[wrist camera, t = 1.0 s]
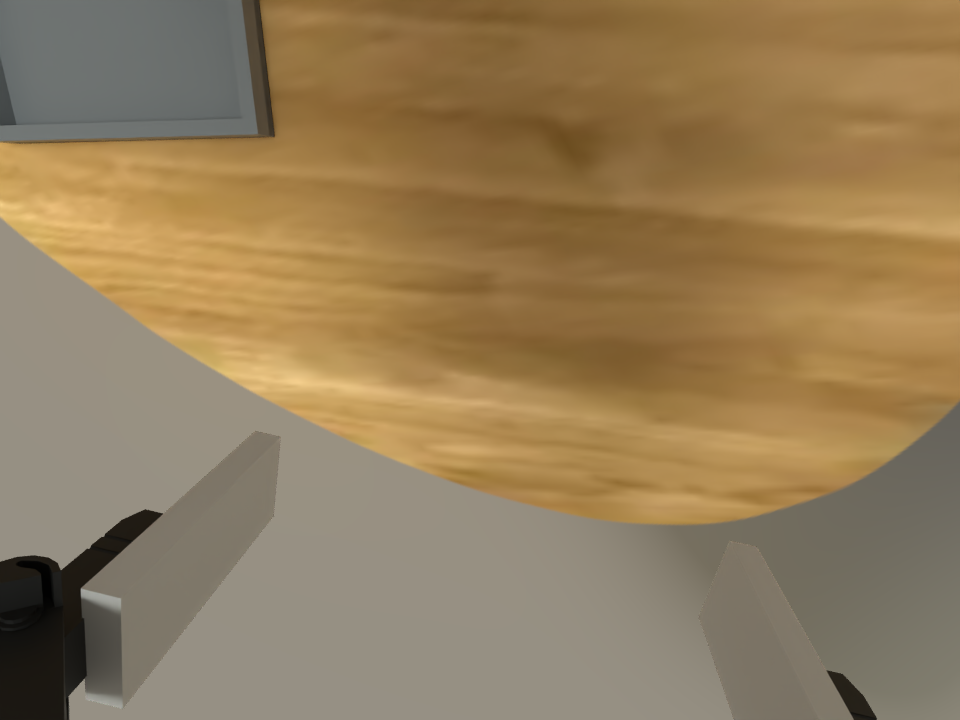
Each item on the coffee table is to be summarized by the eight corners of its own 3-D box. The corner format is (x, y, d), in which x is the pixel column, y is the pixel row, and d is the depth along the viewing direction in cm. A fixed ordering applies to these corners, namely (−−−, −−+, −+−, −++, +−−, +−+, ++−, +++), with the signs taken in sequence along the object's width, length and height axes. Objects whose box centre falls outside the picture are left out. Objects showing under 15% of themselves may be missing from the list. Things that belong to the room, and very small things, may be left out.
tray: (-45, -115, 38) (-84, -134, 36) (243, -137, 36) (222, -159, 34) (17, 143, 43) (-13, 141, 40) (274, 137, 41) (257, 134, 38)
